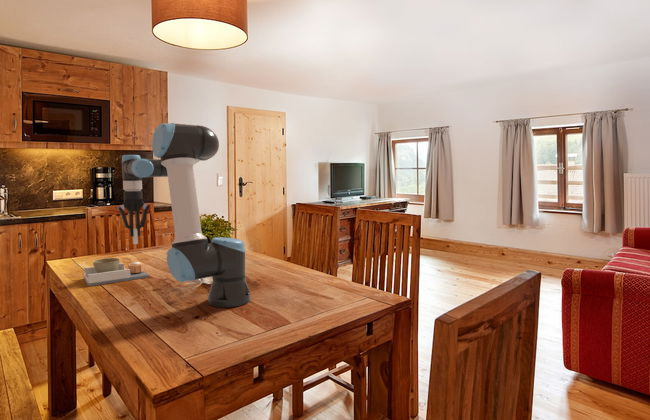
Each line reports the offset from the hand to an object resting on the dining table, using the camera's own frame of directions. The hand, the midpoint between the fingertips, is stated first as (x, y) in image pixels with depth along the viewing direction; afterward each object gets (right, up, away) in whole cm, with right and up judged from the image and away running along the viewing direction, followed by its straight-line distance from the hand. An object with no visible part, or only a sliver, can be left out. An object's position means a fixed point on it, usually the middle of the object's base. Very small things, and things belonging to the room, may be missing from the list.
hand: (135, 243), depth 180 cm
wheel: (0, -13, +2) cm, 13 cm away
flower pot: (-10, -14, -5) cm, 18 cm away
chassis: (-7, -15, -3) cm, 17 cm away
